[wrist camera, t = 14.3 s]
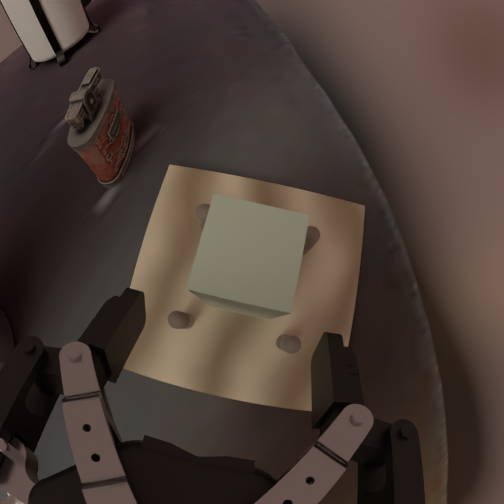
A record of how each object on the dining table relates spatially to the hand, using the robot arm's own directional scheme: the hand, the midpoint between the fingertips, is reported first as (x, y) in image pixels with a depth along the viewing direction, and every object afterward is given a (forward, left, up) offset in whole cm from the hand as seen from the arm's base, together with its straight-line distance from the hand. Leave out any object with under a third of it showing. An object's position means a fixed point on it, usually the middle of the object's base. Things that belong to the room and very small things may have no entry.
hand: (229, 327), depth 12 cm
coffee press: (-55, +12, -11) cm, 57 cm away
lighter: (-21, +4, -11) cm, 24 cm away
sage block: (-2, +3, -9) cm, 10 cm away
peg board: (-2, +3, -11) cm, 12 cm away
